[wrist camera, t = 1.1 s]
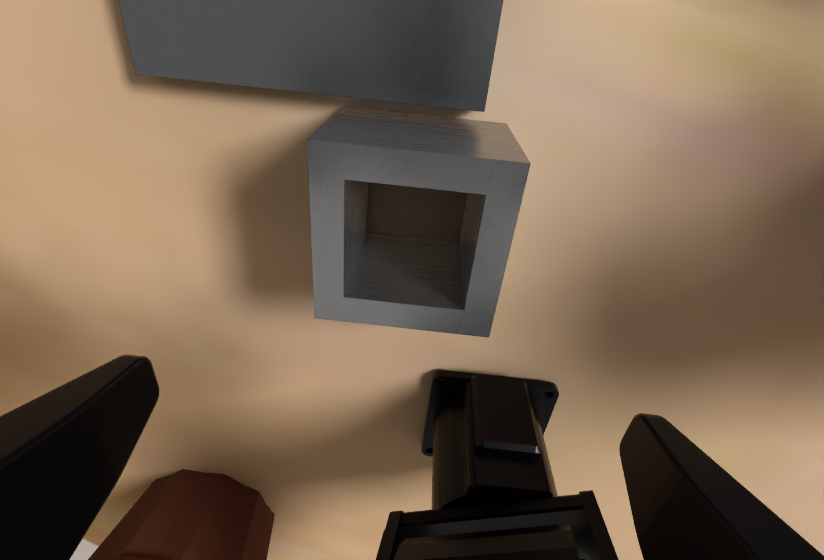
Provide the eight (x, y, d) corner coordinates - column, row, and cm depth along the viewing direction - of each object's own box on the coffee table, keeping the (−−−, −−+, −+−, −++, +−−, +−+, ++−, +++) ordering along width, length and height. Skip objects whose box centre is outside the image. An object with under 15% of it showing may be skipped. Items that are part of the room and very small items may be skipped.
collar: (478, 265, 19) (489, 337, 14) (343, 250, 19) (314, 318, 14) (506, 123, 16) (530, 163, 11) (344, 106, 16) (306, 139, 11)
